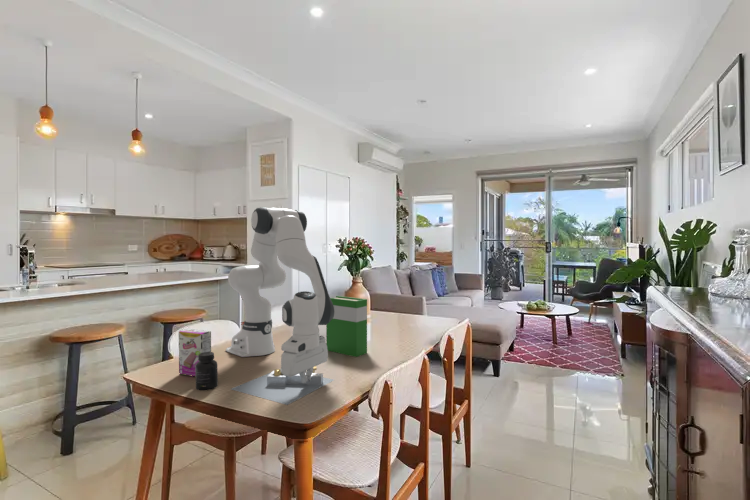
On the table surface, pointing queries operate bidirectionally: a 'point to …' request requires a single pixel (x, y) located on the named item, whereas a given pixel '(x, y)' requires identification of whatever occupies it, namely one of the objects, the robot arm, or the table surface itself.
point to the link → (293, 379)
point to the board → (278, 390)
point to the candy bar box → (192, 348)
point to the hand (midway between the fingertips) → (306, 381)
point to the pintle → (277, 372)
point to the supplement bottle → (206, 372)
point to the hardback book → (348, 326)
